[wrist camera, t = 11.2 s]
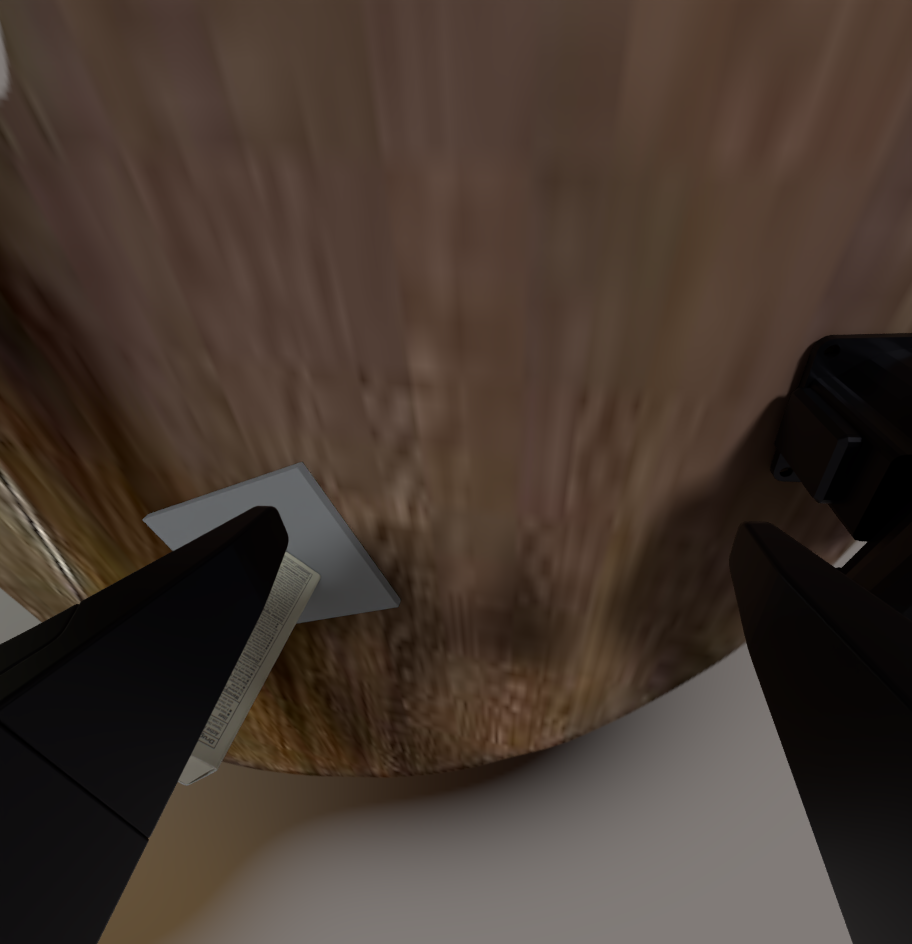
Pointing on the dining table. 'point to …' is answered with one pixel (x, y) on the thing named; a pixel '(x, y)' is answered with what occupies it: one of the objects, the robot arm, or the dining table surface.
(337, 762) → the dining table surface
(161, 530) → the slate mat
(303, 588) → the skincare box
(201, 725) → the robot arm
